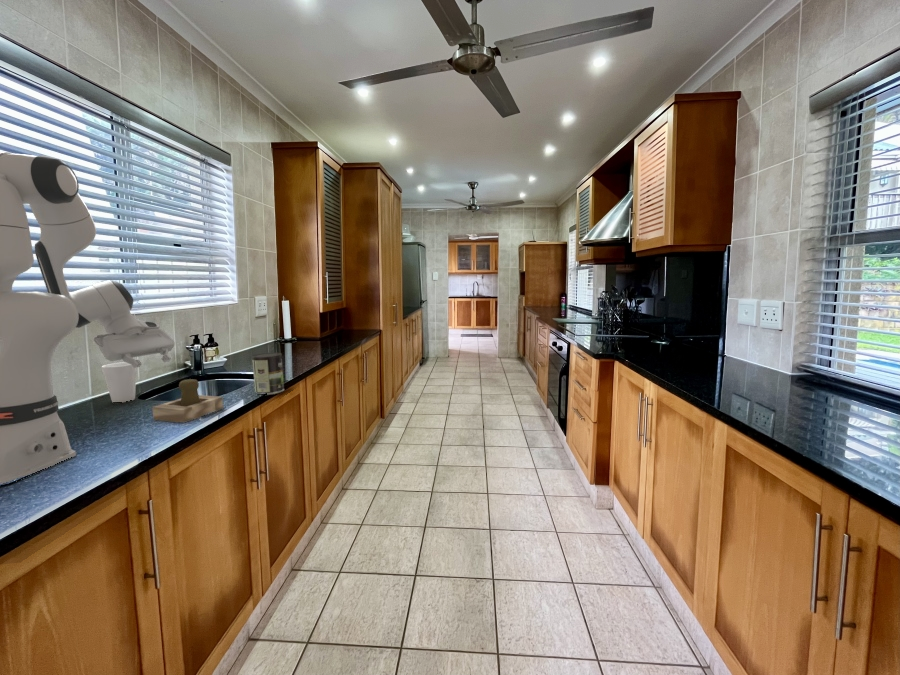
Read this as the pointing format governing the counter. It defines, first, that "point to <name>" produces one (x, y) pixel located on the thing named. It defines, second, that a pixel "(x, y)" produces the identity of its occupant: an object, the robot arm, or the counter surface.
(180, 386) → the cork
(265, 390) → the coffee can
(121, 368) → the foam cup
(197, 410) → the block
